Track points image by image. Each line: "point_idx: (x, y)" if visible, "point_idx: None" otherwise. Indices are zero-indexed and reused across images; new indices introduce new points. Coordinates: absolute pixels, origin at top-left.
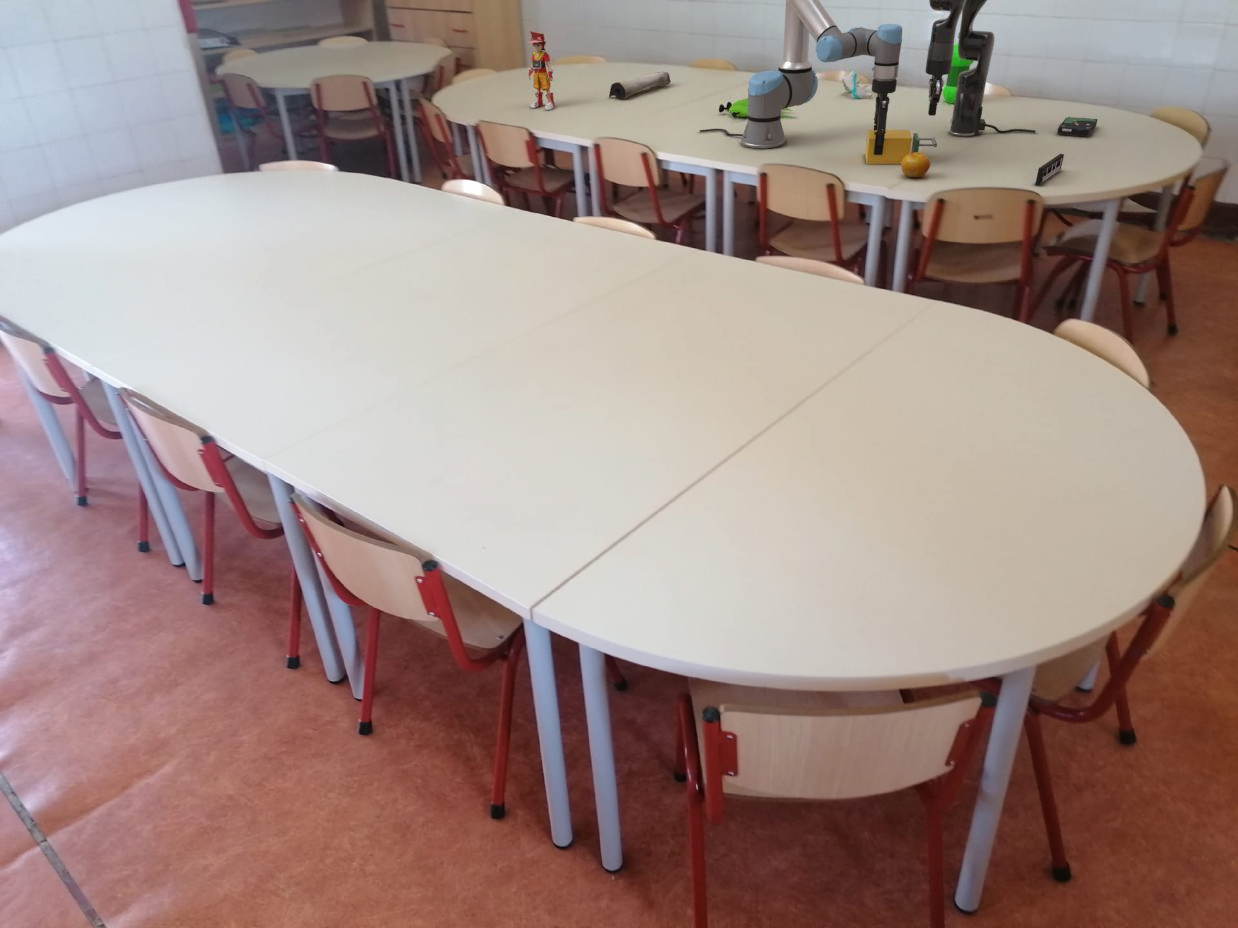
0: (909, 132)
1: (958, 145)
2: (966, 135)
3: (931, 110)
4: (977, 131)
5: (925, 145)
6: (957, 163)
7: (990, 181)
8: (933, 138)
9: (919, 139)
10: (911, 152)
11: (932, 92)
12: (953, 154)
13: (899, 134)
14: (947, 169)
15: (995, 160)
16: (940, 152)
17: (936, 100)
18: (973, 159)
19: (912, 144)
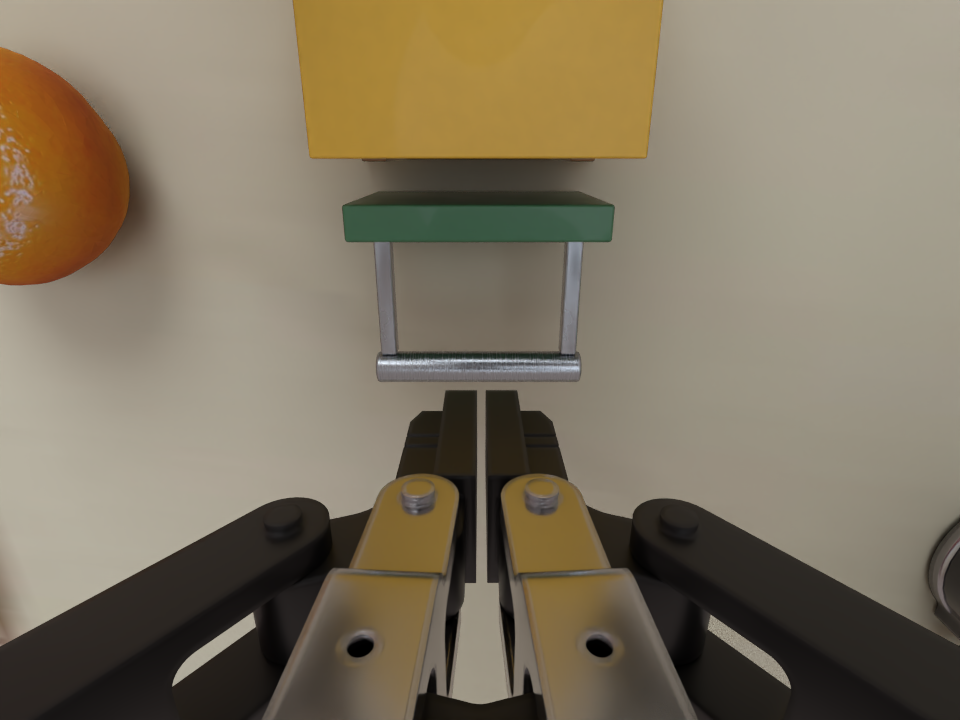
0: (538, 150)
1: (770, 504)
2: (936, 566)
3: (407, 448)
4: (954, 629)
5: (379, 290)
6: (400, 459)
7: (94, 565)
8: (530, 372)
9: (564, 258)
10: (546, 192)
11: (524, 671)
12: (585, 459)
13: (457, 17)
14: (272, 394)
15: (462, 628)
16: (636, 393)
17: (259, 623)
18: (480, 541)
19: (560, 196)
